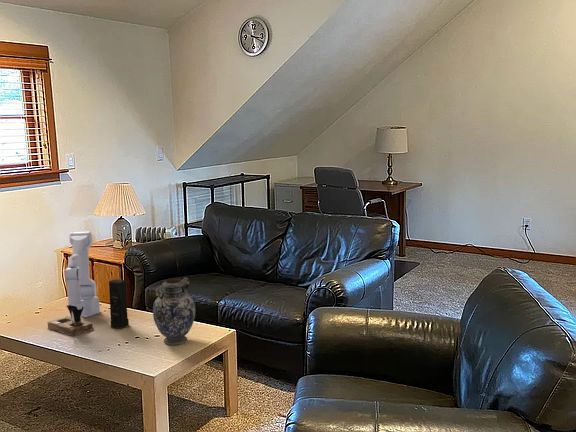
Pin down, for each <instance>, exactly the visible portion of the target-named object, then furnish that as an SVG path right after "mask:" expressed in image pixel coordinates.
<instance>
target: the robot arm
mask: <svg viewBox="0 0 576 432" xmlns="http://www.w3.org/2000/svg"><path fill="white" fill-rule="evenodd" d="M69 244H70V245H71V246H72V254H71V255H70V256H69V258H68V262H67V267H66V268H65V269H64V272H63V274H64V279H65V285H66V291H67V305H66V308H67V310H68V311H69V314H70V317H71V318H72V313H73V316H74V320H75V322H80V319H81V320H82V317H83V318H87V317H91V316H94V315H97V314H101V313H102V312H101V307H100V306H101V305H100V299H99V297H98V295H97V293H98V292H97V291H98V289H97V284H96V281H95V280H93V279H92V278H90V275H91V274H90V258H89V257H90V256H89V254H90V253H89V250H90V247H92V246H93V235H92V232H91V231H75V232H74V231H71V232H70V233H69Z"/></svg>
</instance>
